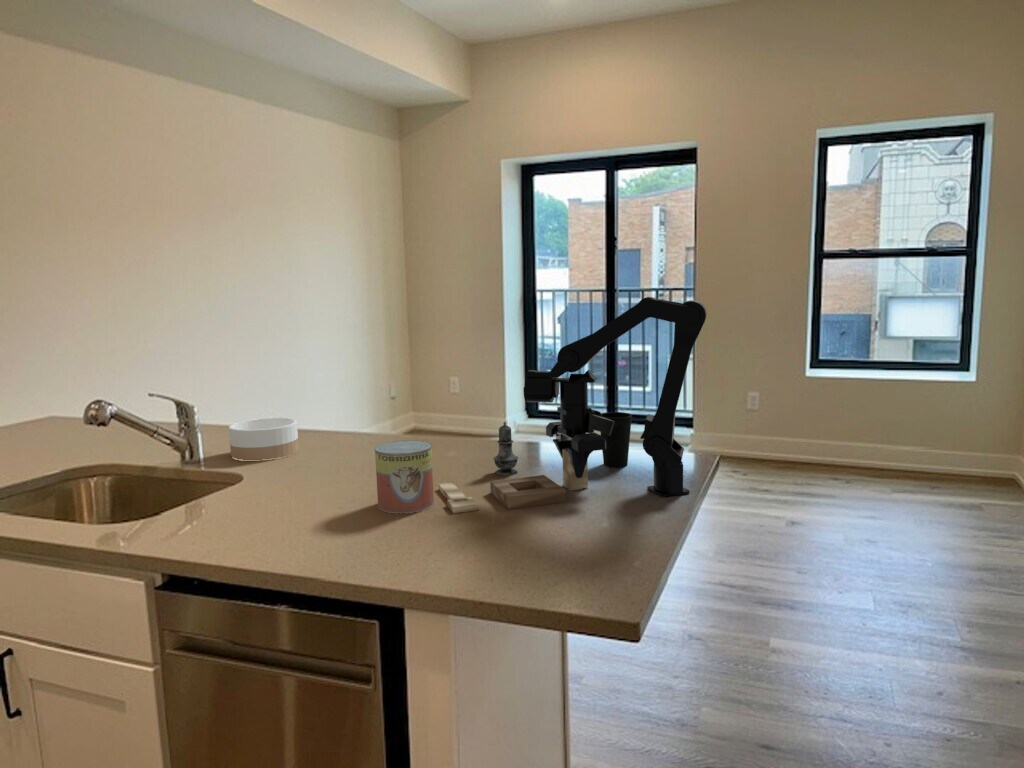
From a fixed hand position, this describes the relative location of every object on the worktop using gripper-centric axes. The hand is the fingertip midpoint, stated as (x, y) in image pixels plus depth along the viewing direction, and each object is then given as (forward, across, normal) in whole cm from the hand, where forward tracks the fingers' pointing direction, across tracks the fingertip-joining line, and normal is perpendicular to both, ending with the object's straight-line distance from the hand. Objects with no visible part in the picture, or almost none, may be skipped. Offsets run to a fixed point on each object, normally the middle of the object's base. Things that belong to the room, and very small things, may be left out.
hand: (575, 475), depth 154 cm
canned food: (+3, +2, +36) cm, 36 cm away
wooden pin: (+2, 0, 0) cm, 2 cm away
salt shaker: (+3, +17, +10) cm, 20 cm away
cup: (+3, +13, -16) cm, 21 cm away
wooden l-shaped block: (+2, +2, +26) cm, 26 cm away
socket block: (+2, -3, +12) cm, 13 cm away
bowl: (+3, +62, +63) cm, 88 cm away
